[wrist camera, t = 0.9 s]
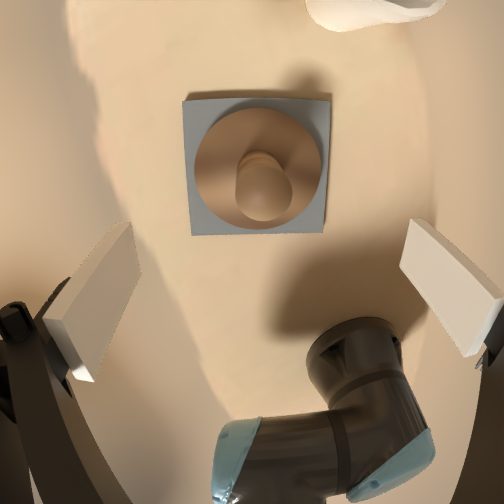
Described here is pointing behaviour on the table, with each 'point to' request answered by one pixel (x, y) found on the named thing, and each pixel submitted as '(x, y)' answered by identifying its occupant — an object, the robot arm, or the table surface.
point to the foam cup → (369, 12)
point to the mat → (213, 110)
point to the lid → (257, 168)
